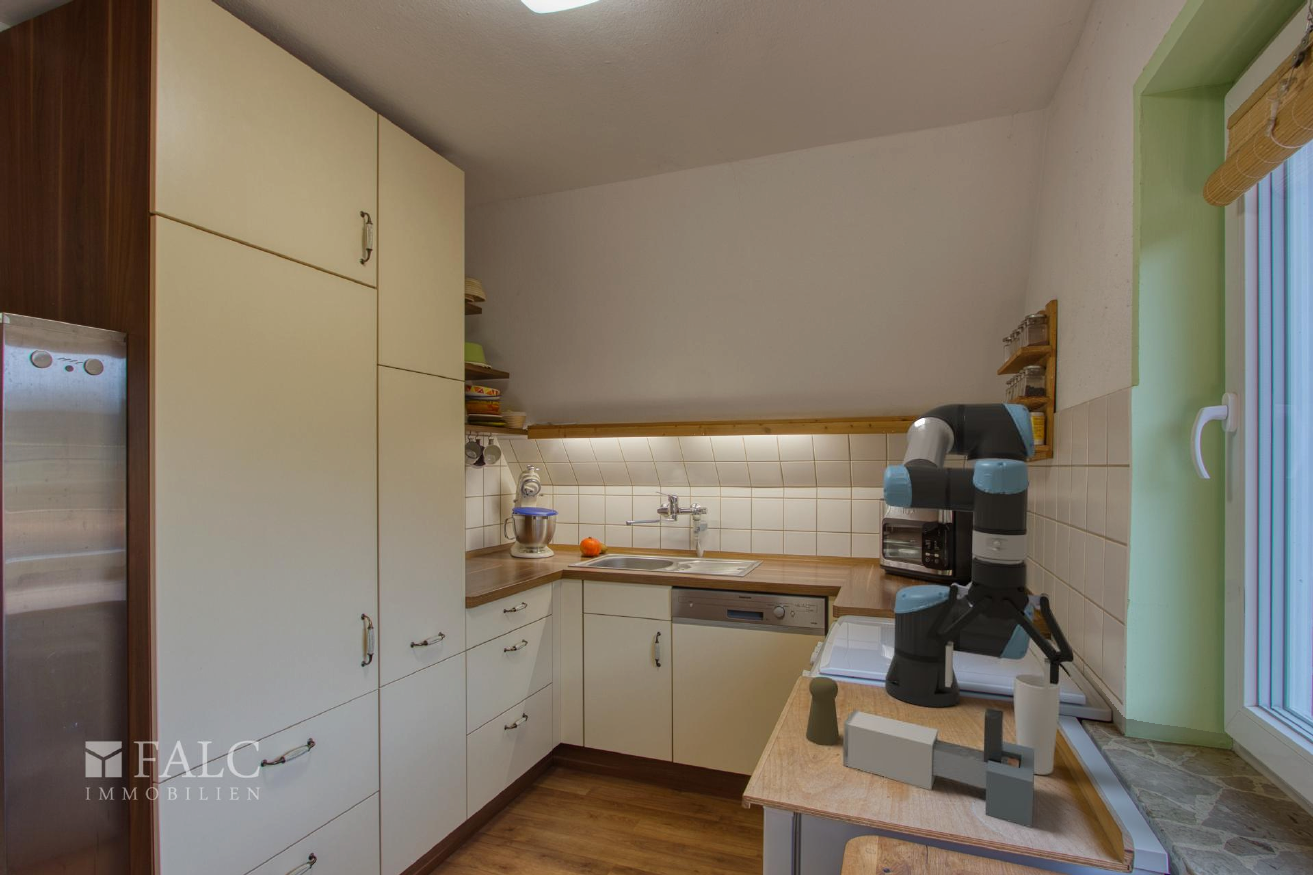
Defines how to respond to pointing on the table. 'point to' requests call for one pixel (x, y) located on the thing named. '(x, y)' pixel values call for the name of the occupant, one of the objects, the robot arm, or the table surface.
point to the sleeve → (889, 748)
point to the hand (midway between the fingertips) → (995, 693)
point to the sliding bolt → (972, 754)
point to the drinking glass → (1036, 719)
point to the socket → (1011, 786)
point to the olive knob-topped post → (823, 712)
